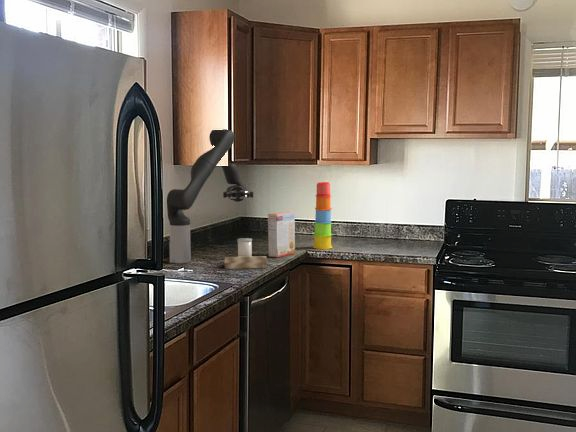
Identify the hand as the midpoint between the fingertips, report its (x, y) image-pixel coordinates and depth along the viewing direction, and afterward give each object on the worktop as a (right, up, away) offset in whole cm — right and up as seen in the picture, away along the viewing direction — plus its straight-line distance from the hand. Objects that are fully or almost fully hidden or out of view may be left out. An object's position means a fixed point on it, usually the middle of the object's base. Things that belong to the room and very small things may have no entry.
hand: (238, 195), depth 290 cm
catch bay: (+4, -32, -16) cm, 36 cm away
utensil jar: (+4, -32, -16) cm, 36 cm away
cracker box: (+20, -29, +13) cm, 38 cm away
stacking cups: (+41, -27, +38) cm, 62 cm away
